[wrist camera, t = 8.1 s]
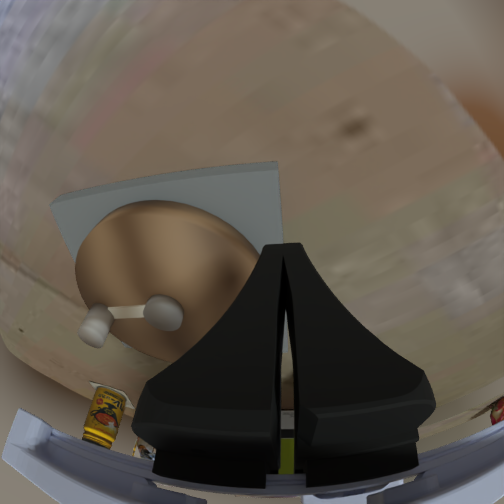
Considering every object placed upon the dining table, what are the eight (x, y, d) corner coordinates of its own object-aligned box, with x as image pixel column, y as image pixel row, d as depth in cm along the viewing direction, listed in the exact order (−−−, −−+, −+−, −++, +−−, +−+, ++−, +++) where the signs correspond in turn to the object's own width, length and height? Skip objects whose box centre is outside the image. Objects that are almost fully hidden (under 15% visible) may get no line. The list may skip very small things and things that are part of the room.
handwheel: (243, 175, 16) (233, 215, 12) (286, 342, 25) (287, 389, 21) (57, 226, 19) (22, 263, 15) (139, 349, 28) (125, 387, 24)
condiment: (123, 390, 41) (105, 450, 31) (135, 408, 46) (121, 461, 36) (88, 379, 41) (68, 435, 31) (103, 399, 46) (87, 448, 36)
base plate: (287, 338, 28) (287, 352, 26) (129, 335, 30) (125, 347, 29) (277, 161, 18) (278, 169, 16) (60, 195, 20) (49, 204, 18)
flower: (481, 418, 50) (498, 428, 44) (481, 419, 46) (500, 430, 39) (498, 390, 51) (515, 399, 44) (499, 388, 46) (518, 399, 39)
